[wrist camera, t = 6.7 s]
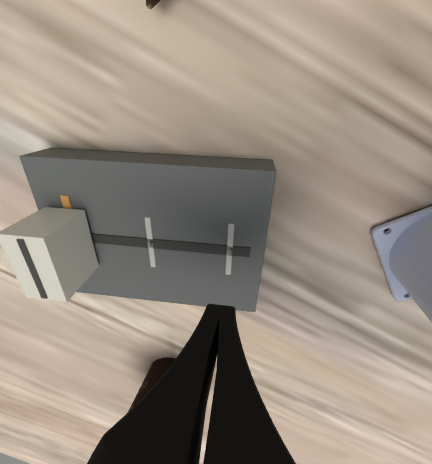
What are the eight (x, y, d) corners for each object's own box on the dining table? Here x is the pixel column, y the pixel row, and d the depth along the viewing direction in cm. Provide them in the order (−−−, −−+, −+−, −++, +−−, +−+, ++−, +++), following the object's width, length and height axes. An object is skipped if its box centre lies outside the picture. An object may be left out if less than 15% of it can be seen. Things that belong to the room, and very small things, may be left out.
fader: (84, 210, 18) (41, 239, 14) (98, 266, 20) (65, 303, 16) (45, 206, 18) (-6, 234, 14) (64, 262, 20) (24, 298, 17)
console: (272, 160, 17) (276, 171, 15) (254, 288, 23) (255, 313, 21) (50, 147, 19) (17, 156, 16) (86, 270, 25) (66, 291, 22)
